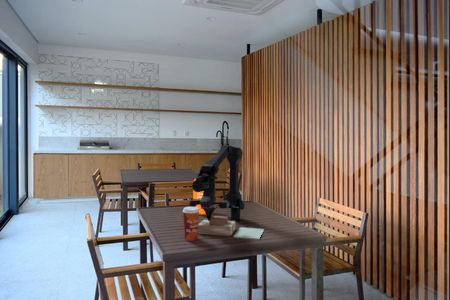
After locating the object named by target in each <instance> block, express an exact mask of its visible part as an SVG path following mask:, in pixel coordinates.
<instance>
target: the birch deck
mask: <svg viewBox="0 0 450 300" xmlns="http://www.w3.org/2000/svg"><path fill="white" fill-rule="evenodd" d="M236 227H237V226H236V221H234V220H228V222H227V223H226V224H225V225H224V226H214V225H209V221H208V219H207V218H204V219H203V220H202V221H201V222H198V234H200V235H211V236H212V235H213V236H225V237H230V236H232V235H233V233H234V231H236Z"/></svg>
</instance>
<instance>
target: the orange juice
mask: <svg viewBox="0 0 450 300" xmlns="http://www.w3.org/2000/svg"><path fill="white" fill-rule="evenodd" d="M195 180H196V178H194V180H193V182H194V181H195ZM192 191H193V196H192V197H193V198H192V200H193V199H201V198H202V196H203V192H204V191H202V192H195V191H194V190H192ZM196 207H197V208H198V209H199V211H200V212H199V215H206V213H205V211H204V210H203V209H201V206H200V205H197V206H196Z"/></svg>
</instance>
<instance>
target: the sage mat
mask: <svg viewBox="0 0 450 300" xmlns="http://www.w3.org/2000/svg"><path fill="white" fill-rule="evenodd" d="M264 231H265V229H264V228H256V227H255V228H254V227H239V228H238V230H237V231H236V232H235V234H234V235H233V238H235V239H237V238H238V239H247V240H259V239H260V240H261V238H262V236H263V234H264ZM261 235H262V236H261ZM260 237H261V238H260Z"/></svg>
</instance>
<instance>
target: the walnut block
mask: <svg viewBox="0 0 450 300" xmlns="http://www.w3.org/2000/svg"><path fill="white" fill-rule="evenodd" d="M228 221H229V216H228V215H225V216H224V215H212V218H211V219H210V220H209V225H214V226H224V225H225V224H226V223H227V222H228Z"/></svg>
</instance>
